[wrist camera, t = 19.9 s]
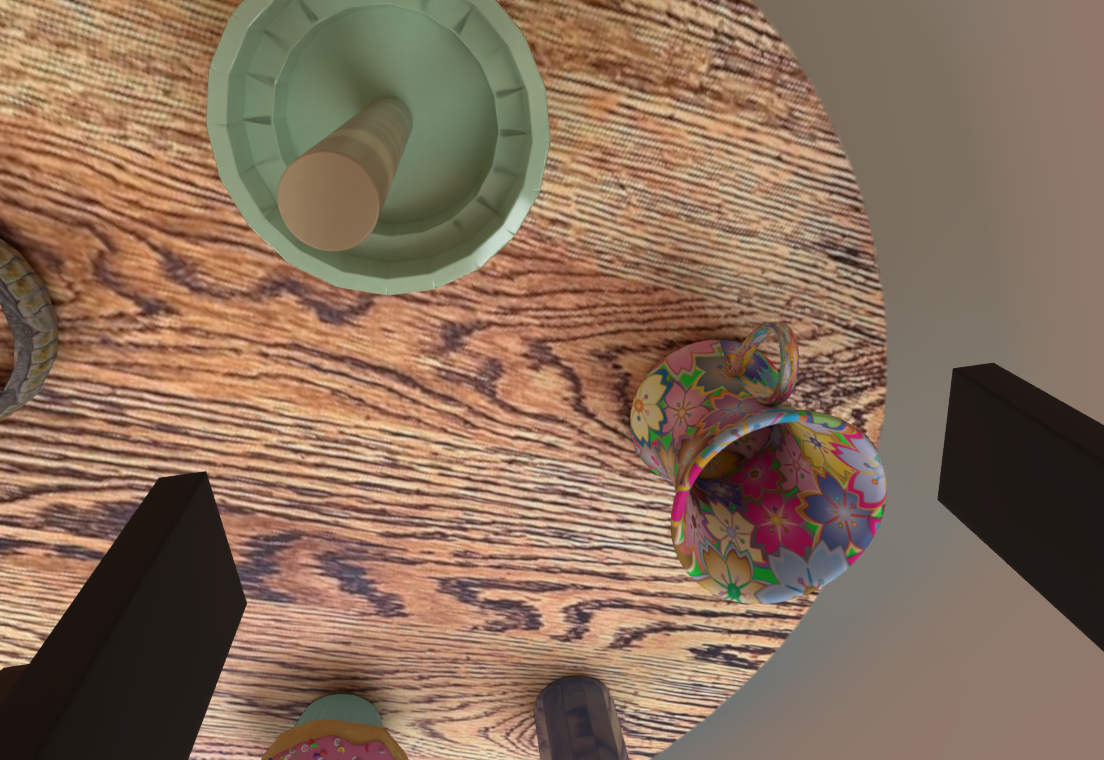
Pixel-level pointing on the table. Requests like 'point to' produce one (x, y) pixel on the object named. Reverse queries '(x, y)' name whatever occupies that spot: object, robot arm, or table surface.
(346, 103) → the bowl
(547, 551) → the table surface
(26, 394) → the decorative ring
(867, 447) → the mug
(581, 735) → the holder
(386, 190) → the stick
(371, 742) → the cupcake
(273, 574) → the table surface
